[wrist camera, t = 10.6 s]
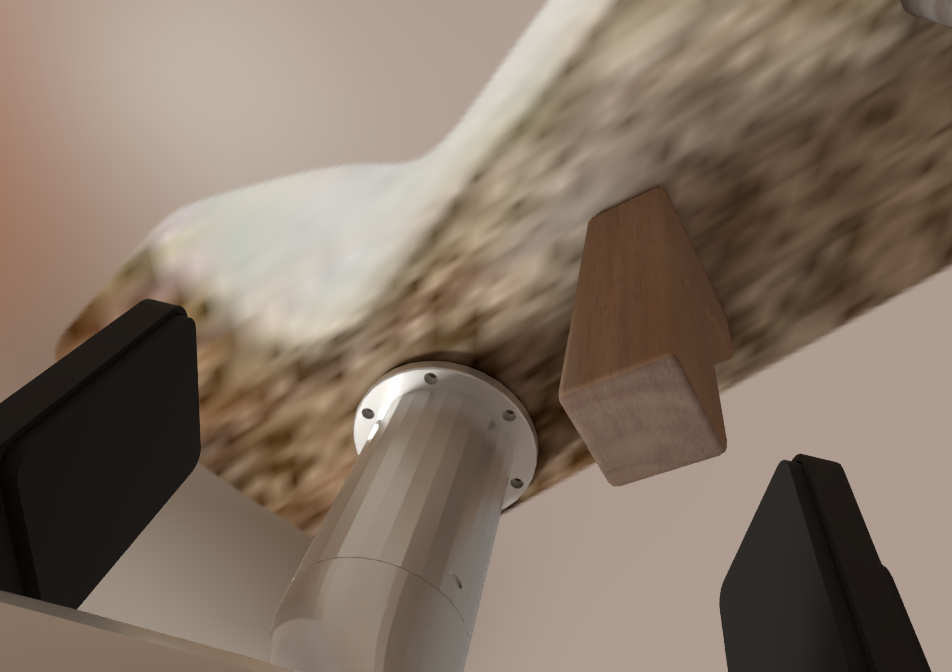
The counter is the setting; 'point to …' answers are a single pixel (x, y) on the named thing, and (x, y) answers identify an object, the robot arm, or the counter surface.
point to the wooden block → (644, 345)
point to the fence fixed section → (930, 10)
